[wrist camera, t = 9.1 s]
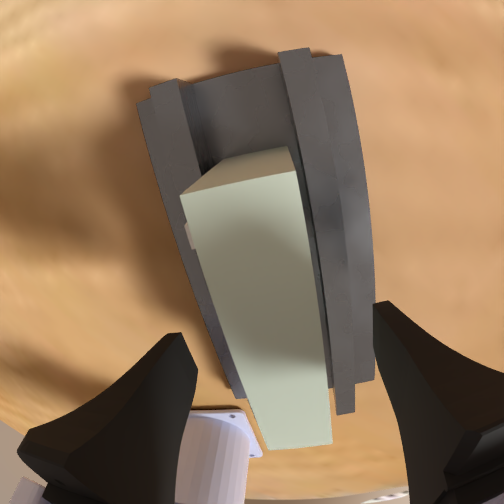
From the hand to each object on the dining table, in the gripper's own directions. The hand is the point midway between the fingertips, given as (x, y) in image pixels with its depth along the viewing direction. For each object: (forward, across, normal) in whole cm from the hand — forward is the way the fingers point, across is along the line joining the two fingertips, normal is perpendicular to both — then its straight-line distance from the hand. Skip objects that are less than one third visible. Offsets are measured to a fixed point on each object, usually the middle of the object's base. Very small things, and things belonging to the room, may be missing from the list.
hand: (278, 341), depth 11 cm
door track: (+6, 0, 0) cm, 7 cm away
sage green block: (+6, 0, 0) cm, 6 cm away
